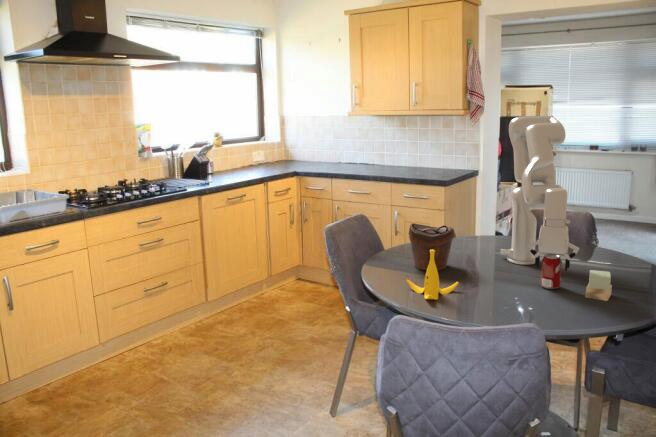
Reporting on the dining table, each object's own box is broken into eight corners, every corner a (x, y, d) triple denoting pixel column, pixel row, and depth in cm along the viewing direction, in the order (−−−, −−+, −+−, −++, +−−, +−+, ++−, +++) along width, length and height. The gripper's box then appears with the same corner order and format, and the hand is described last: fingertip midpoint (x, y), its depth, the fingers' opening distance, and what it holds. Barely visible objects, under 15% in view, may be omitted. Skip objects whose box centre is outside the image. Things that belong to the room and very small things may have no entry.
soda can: (550, 291, 212) (552, 259, 209) (536, 286, 218) (538, 254, 215) (564, 288, 215) (566, 256, 212) (549, 282, 221) (551, 252, 218)
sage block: (589, 287, 204) (590, 275, 203) (588, 282, 209) (589, 270, 208) (609, 290, 201) (610, 277, 200) (609, 284, 207) (610, 271, 206)
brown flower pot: (464, 268, 239) (465, 225, 235) (421, 275, 232) (421, 231, 228) (440, 257, 255) (440, 217, 252) (400, 264, 248) (399, 223, 245)
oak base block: (585, 297, 205) (586, 287, 204) (589, 292, 211) (590, 281, 210) (607, 301, 201) (608, 290, 201) (611, 295, 207) (611, 284, 206)
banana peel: (429, 305, 202) (429, 258, 198) (405, 288, 220) (405, 244, 216) (471, 299, 207) (473, 253, 203) (445, 282, 224) (446, 240, 221)
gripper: (580, 222, 210) (578, 268, 214) (530, 219, 217) (528, 263, 221) (580, 226, 204) (577, 273, 207) (528, 223, 211) (525, 269, 214)
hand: (551, 268), depth 214 cm, fingers open, 9 cm apart
